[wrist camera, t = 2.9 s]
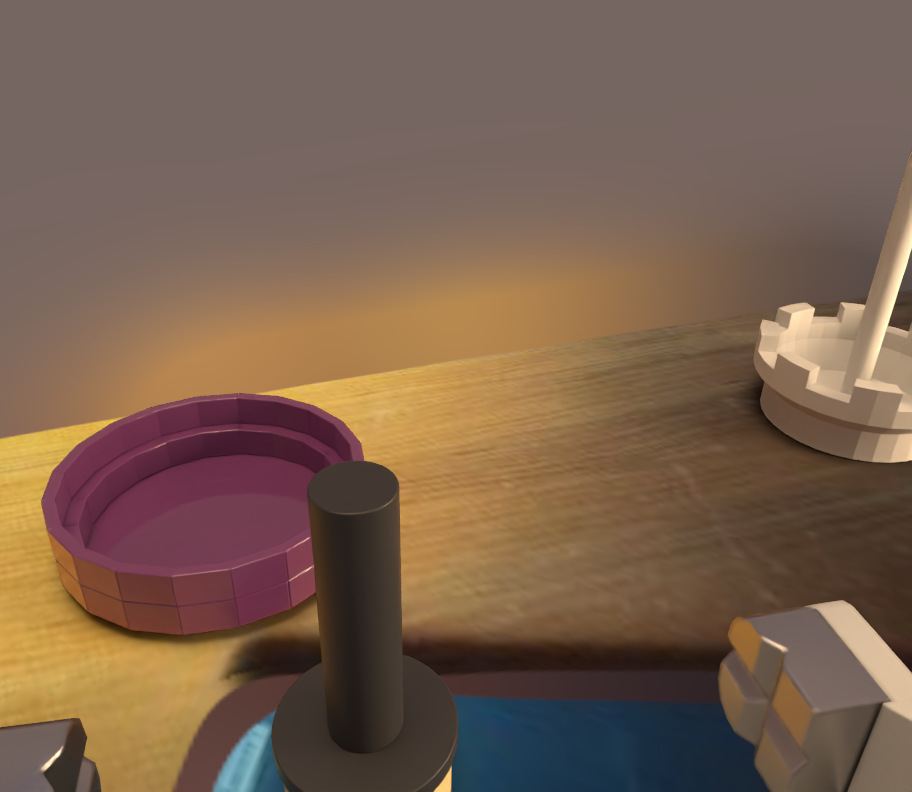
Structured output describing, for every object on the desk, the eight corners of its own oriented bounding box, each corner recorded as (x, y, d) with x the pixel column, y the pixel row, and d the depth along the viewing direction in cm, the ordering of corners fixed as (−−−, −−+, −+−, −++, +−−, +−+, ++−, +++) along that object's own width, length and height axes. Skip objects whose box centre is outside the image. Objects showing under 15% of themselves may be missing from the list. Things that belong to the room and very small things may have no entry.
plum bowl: (28, 666, 35) (3, 596, 33) (91, 464, 48) (76, 405, 46) (383, 618, 37) (381, 551, 35) (352, 440, 50) (349, 383, 48)
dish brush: (282, 894, 27) (234, 576, 20) (279, 730, 32) (239, 436, 25) (473, 857, 28) (489, 545, 21) (438, 705, 33) (442, 417, 26)
